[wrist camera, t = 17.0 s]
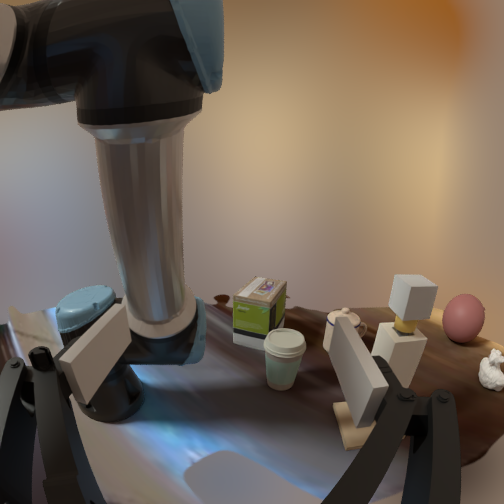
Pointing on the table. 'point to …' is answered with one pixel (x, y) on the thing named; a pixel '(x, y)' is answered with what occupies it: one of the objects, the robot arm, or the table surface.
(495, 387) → the bust
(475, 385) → the table surface
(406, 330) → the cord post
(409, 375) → the marker sleeve
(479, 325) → the balloon
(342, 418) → the tan slab base
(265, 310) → the tea box
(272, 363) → the coffee cup
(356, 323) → the teacup with lid
